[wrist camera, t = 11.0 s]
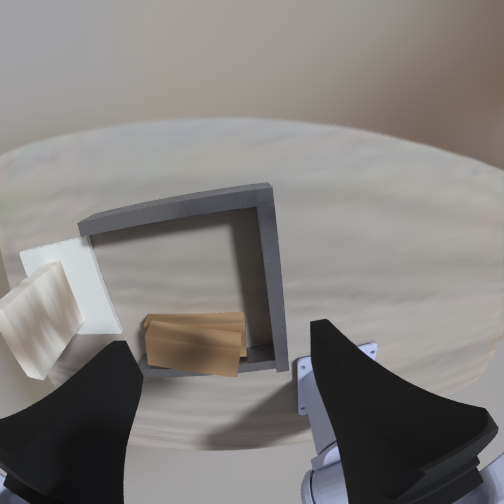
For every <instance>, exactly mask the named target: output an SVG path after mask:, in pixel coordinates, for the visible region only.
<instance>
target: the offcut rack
mask: <svg viewBox="0 0 504 504" xmlns="http://www.w3.org/2000/svg"><path fill="white" fill-rule="evenodd" d="M250 207H256V211H257V219H258V227H259V235H260V243H261V251H262V259H263V267H264V275H265V283H266V292H267V300H268V308H269V317H270V325H271V334H272V343H273V345H266V346H258V347H250V348H247V356H241V357H240V360H239V366H238V372H237V373H242V372H251V371H259V370H267V369H275V368H276V370H277V372H283V371H289V364H288V349H287V335H286V322H285V310H284V298H283V286H282V275H281V264H280V254H279V244H278V234H277V224H276V215H275V206H274V197H273V188H272V186H271V185H270V184H269V183H259V184H252V185H244V186H237V187H230V188H223V189H217V190H210V191H204V192H198V193H192V194H187V195H181V196H176V197H170V198H165V199H160V200H155V201H150V202H145V203H140V204H135V205H131V206H126V207H122V208H117V209H113V210H109V211H105V212H100V213H96V214H93V215H91V216H90V217H88V218H86V219H84V220H82V221H80V222H79V223H78V227H79V231H80V234H81V237H84V236H89V235H93V234H98V233H103V232H108V231H112V230H117V229H123V228H128V227H133V226H138V225H143V224H149V223H154V222H160V221H166V220H171V219H177V218H183V217H189V216H196V215H202V214H208V213H215V212H222V211H228V210H235V209H242V208H250ZM139 368H140V370H141V372H142V374H143V377H183V376H205V375H211V374H203V373H196V372H189V371H182V370H176V369H170V368H165V367H159V366H154V365H149V364H148V360H147V355H144V356H143V358H142V361H141V364H140V366H139Z"/></svg>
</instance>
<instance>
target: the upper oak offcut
mask: <svg viewBox="0 0 504 504" xmlns="http://www.w3.org/2000/svg"><path fill="white" fill-rule="evenodd" d="M145 344H146V353H147V360H148V364H149V365H154V366H159V367H165V368H170V369H176V370H182V371H189V372H196V373H203V374H211V375H220V376H230V377H237V372H238V366H239V360H240V353H241V332H233V331H224V330H215V329H207V328H200V327H192V326H185V325H178V324H172V323H166V322H160V321H154V320H152V321H151V323H150V325H149V327H148V329H147V331H146V333H145Z"/></svg>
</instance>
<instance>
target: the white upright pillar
mask: <svg viewBox="0 0 504 504" xmlns="http://www.w3.org/2000/svg"><path fill="white" fill-rule="evenodd" d="M84 321H85V320H84V318H83V316H82V314H81V312H80V309H79V307H78V305H77V302H76V300H75V298H74V295H73V293H72V290H71V288H70V285H69V282H68V280H67V277H66V274H65V272H64V269H63V266H62V263H61V260H59V261H53V262H48V263H45V264H44V265H42V266H41V267H40V268H38V269H37V270H36V271H35V272H33V273H32V274H31V275H29V276H28V277H27V278H26V279H24V280H23V281H22V282H21V283H20V284H18V285H17V286H16V287H15V288H14V289H12V290H11V291H10V292H9V293H8V294H7V295H5V296H4V297H3V298H2V299H1V300H0V331H1V333H2V335H3V337H4V338H5V340H6V342H7V344H8V345H9V347H10V349H11V351H12V352H13V354H14V355H15V357H16V358H17V360H18V362H19V363H20V365H21V366H22V368H23V369H24V371H25V372H26V374H27V375H28V376H29V377H32V378H36V379H41V380H44V379H45V377H46V376H47V374H48V373H49V371H50V370H51V368H52V367H53V365H54V363H55V362H56V360H57V359H58V357H59V356H60V355H61V353H62V352H63V350H64V349H65V347H66V346H67V344H68V343H69V341H70V340H71V339H72V337H73V336H74V334H75V333H76V332H77V330H78V329H79V328H80V326H81V325H82V323H83V322H84Z"/></svg>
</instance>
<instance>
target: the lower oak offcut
mask: <svg viewBox="0 0 504 504" xmlns="http://www.w3.org/2000/svg"><path fill="white" fill-rule="evenodd" d="M152 320H154V321H160V322H166V323H172V324H178V325H185V326H192V327H200V328H207V329H215V330H224V331H233V332H241V353H240V357H241V356H247V348H246V332H245V317H244V312H228V313H199V314H148V315H147V317H146V320H145V322H144V324H143V325H144V328H145V331H147V329H148V327H149V325H150V323H151V321H152Z"/></svg>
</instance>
